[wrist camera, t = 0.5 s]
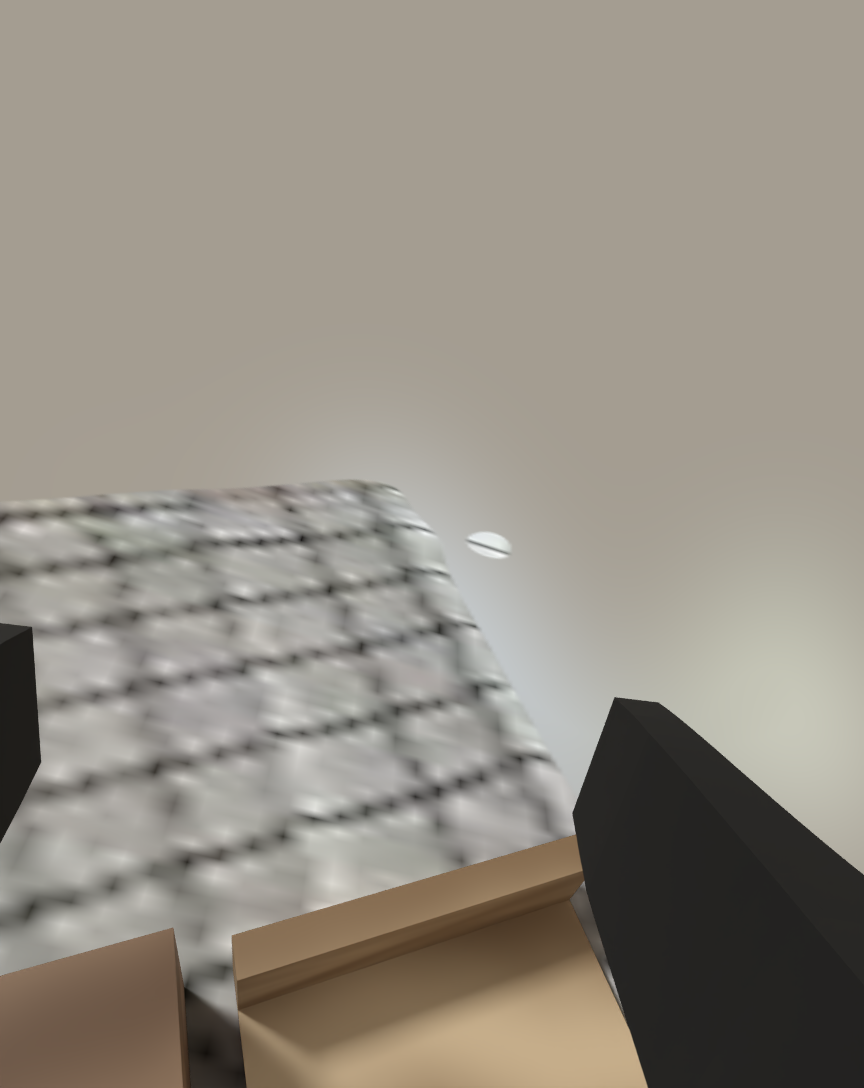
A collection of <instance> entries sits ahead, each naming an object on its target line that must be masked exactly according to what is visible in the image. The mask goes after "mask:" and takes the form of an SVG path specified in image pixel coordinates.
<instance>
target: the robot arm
mask: <svg viewBox="0 0 864 1088" xmlns="http://www.w3.org/2000/svg"><path fill="white" fill-rule="evenodd" d="M40 763H41V753H40V738H39V723H38V709H37V694H36V679H35V664H34V649H33V634H32V627H27V626H19V625H11V624H2V623H0V843H1V841H2V839H3V837H4V835H5V833H6V831H7V829H8V827H9V826H10V824H11V822H12V820H13V818H14V816H15V814H16V812H17V810H18V808H19V806H20V804H21V802H22V800H23V798H24V796H25V794H26V792H27V790H28V788H29V786H30V784H31V782H32V780H33V778H34V776H35V774H36V772H37V770H38V767H39V765H40ZM573 819H574V825H575V831H576V837H577V843H578V849H579V855H580V860H581V865H582V870H583V876H584V881H585V886H586V891H587V894H588V897H589V901H590V904H591V908H592V911H593V914H594V918H595V921H596V924H597V927H598V931H599V934H600V937H601V940H602V944H603V947H604V950H605V953H606V957H607V960H608V963H609V966H610V969H611V973H612V976H613V979H614V982H615V985H616V988H617V992H618V995H619V998H620V1001H621V1004H622V1007H623V1011H624V1014H625V1017H626V1020H627V1023H628V1026H629V1030H630V1033H631V1036H632V1039H633V1042H634V1045H635V1049H636V1052H637V1055H638V1058H639V1061H640V1064H641V1068H642V1071H643V1074H644V1077H645V1080H646V1083H647V1087H648V1088H864V875H863V874H862V873H861V872H860V871H858V870H857V869H856V868H854V867H853V866H852V865H851V864H849V863H848V862H847V861H846V860H845V859H843V858H842V857H841V856H840V855H838V854H837V853H836V852H835V851H834V850H832V849H831V848H830V847H829V846H828V845H826V844H825V843H824V842H823V841H822V840H820V839H819V838H818V837H817V836H815V835H814V834H813V833H812V832H811V831H810V830H808V829H807V828H806V827H805V826H804V825H802V824H801V823H800V822H799V821H798V820H797V819H795V818H794V817H793V816H792V815H791V814H790V813H788V812H787V811H786V810H785V809H784V808H782V807H781V806H780V805H779V804H778V803H777V802H775V801H774V800H773V799H772V798H771V797H770V796H768V794H766V793H765V792H764V791H763V790H762V789H761V788H759V787H758V786H757V785H756V784H755V783H754V782H753V781H751V780H750V779H749V778H748V777H747V776H746V775H745V774H743V773H742V772H741V771H740V770H739V769H738V768H736V767H735V766H734V765H733V764H732V763H731V762H730V761H728V760H727V759H726V758H725V757H724V756H723V755H722V754H721V753H719V752H718V751H717V750H716V749H715V748H714V747H712V746H711V745H710V744H709V743H708V742H707V741H706V740H704V739H703V738H702V737H701V736H700V735H698V734H697V733H696V732H695V731H694V730H693V729H691V728H690V727H689V726H688V725H687V724H685V723H684V722H683V721H682V720H680V719H679V718H678V717H677V716H676V715H674V714H673V713H672V712H670V711H669V710H668V709H666V708H665V707H664V706H662V705H661V704H659V703H658V702H649V701H641V700H632V699H624V698H616V697H615V698H614V700H613V703H612V706H611V709H610V711H609V714H608V717H607V720H606V722H605V726H604V728H603V731H602V734H601V736H600V739H599V742H598V744H597V747H596V750H595V753H594V755H593V758H592V761H591V764H590V766H589V769H588V772H587V775H586V777H585V780H584V783H583V786H582V788H581V791H580V794H579V797H578V799H577V802H576V805H575V808H574V810H573Z"/></svg>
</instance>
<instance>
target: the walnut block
mask: <svg viewBox="0 0 864 1088" xmlns="http://www.w3.org/2000/svg"><path fill="white" fill-rule="evenodd" d="M0 1088H191V1083H190V1068H189V1053H188V1038H187V1023H186V1008H185V993H184V984H183V978H182V973H181V967H180V962H179V956H178V951H177V946H176V940H175V935H174V929H173V928H170V929H167V930H163V931H159V932H156V933H152V934H149V935H145V936H141V937H138V938H134V939H131V940H127V941H124V942H120V943H116V944H113V945H109V946H106V947H102V948H98V949H95V950H91V951H88V952H84V953H81V954H77V955H73V956H70V957H66V958H63V959H59V960H55V961H52V962H48V963H45V964H41V965H37V966H34V967H30V968H27V969H23V970H20V971H16V972H12V973H9V974H5V975H2V976H0Z"/></svg>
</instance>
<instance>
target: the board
mask: <svg viewBox="0 0 864 1088" xmlns="http://www.w3.org/2000/svg"><path fill="white" fill-rule="evenodd" d="M583 881H584V876H583V870H582V865H581V860H580V855H579V849H578V843H577V837H576V835H573V836H569V837H566V838H563V839H559V840H556V841H552V842H549V843H546V844H542V845H539V846H535V847H532V848H529V849H525V850H522V851H518V852H515V853H512V854H508V855H505V856H501V857H498V858H494V859H491V860H488V861H484V862H481V863H477V864H474V865H471V866H467V867H464V868H460V869H457V870H454V871H450V872H447V873H443V874H440V875H436V876H433V877H430V878H426V879H423V880H419V881H416V882H413V883H409V884H406V885H402V886H399V887H396V888H392V889H389V890H385V891H382V892H379V893H375V894H372V895H368V896H365V897H361V898H358V899H355V900H351V901H348V902H344V903H341V904H338V905H334V906H331V907H327V908H324V909H321V910H317V911H314V912H310V913H307V914H304V915H300V916H297V917H293V918H290V919H286V920H283V921H280V922H276V923H273V924H269V925H266V926H263V927H259V928H256V929H252V930H249V931H246V932H242V933H239V934H235V935H232V954H233V973H234V982H235V991H236V1000H237V1008H238V1017H239V1026H240V1034H241V1043H242V1052H243V1061H244V1069H245V1078H246V1087H247V1088H648V1087H647V1083H646V1080H645V1077H644V1074H643V1071H642V1068H641V1064H640V1061H639V1058H638V1055H637V1052H636V1049H635V1045H634V1042H633V1039H632V1036H631V1033H630V1030H629V1028H628V1026H627V1024H626V1021H625V1019H624V1017H623V1015H622V1013H621V1011H620V1008H619V1006H618V1004H617V1002H616V1000H615V997H614V995H613V993H612V991H611V989H610V987H609V984H608V982H607V980H606V978H605V976H604V974H603V971H602V969H601V967H600V965H599V963H598V961H597V958H596V956H595V954H594V952H593V950H592V947H591V945H590V943H589V941H588V939H587V937H586V934H585V932H584V930H583V928H582V926H581V924H580V921H579V919H578V917H577V915H576V913H575V910H574V908H573V906H572V904H571V902H570V898H571V897H572V896H573V894H574V893H575V892H576V891H577V889H578V888H579V887H580V885H581V884H582V883H583Z"/></svg>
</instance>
